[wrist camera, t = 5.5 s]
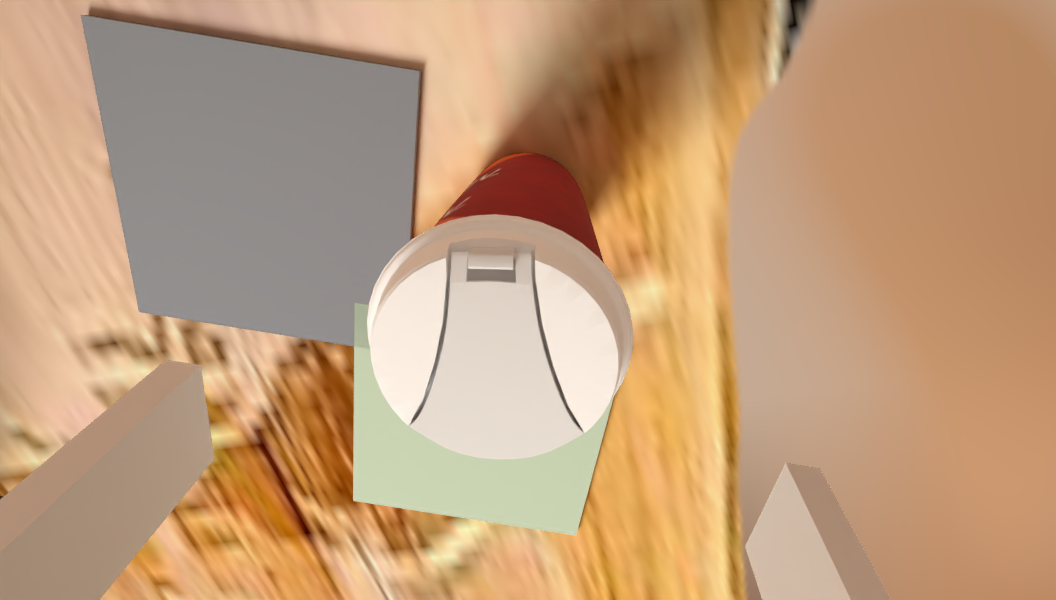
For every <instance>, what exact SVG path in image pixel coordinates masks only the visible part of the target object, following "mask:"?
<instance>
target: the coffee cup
mask: <svg viewBox="0 0 1056 600" xmlns="http://www.w3.org/2000/svg"><path fill="white" fill-rule="evenodd" d="M367 329H368V340H369V344H370V352H371V362H372V366H373V370H374V374H375V378H376V380H377V382H378V385H379V387H380V389H381V392H382V394H383V395H384V397H385V399H386V400H387V402H388V403H389V405H390V407H391V408H392V409H393V410H394V412H395V413H396V414H397V415H398V416H399V417H400V418H401V420H402V421H403V422H404V423H406V424H407V425H409V424H410V422H411V424H410V427H411V428H412V429H414V430H416V431H417V432H419V433H420V434H422V435H424V436H425V437H427V438H428V439H430V440H432V441H434V442H436V443H437V444H439V445H441V446H443V447H445V448H447V449H450V450H452V451H455V452H458V453H460V454H464V455H468V456H473V457H478V458H487V459H520V458H528V457H533V456H537V455H540V454H544V453H547V452H550V451H552V450H554V449H556V448H558V447H560V446H562V445H564V444H566V443H568V442H570V441H572V440H573V439H575V438H577V437H579V436H581V435H582V434H583V431H584V433H585V432H587V431H588V430H589V429H590V428H591V427H592V426H593V425H594V424H595V423H596V422H597V421H598V420H599V418H600V417H601V416H602V415H603V414H604V412H605V410H606V409H607V407H608V405H609V404H610V402H611V400H612V398H613V397H614V395H615V394H616V392H617V390H618V389H619V387H620V385H621V384H622V382H623V380H624V377H625V375H626V372H627V370H628V367H629V364H630V359H631V354H632V349H633V327H632V321H631V315H630V310H629V307H628V304H627V302H626V299H625V296H624V294H623V291H622V289H621V288H620V286H619V284H618V282H617V281H616V279H615V277H614V276H613V274H612V273H611V271H610V270H609V269H608V268H607V267H606V265H605V264H604V262H603V259H602V256H601V252H600V249H599V246H598V242H597V239H596V236H595V233H594V229H593V226H592V223H591V220H590V216H589V213H588V210H587V207H586V204H585V201H584V198H583V196H582V193H581V191H580V188H579V186H578V185H577V183H576V181H575V179H574V178H573V176H572V175H571V174H570V173H569V172H568V171H567V170H566V169H565V168H564V167H563V166H562V165H561V164H559V163H558V162H556V161H554V160H553V159H551V158H548V157H546V156H543V155H539V154H534V153H518V154H512V155H509V156H506V157H503V158H501V159H499V160H497V161H495V162H494V163H492V164H491V165H490V166H489V167H487V168H486V169H485V170H484V171H483V172H482V173H481V174H480V175H479V176H478V177H477V178H476V179H475V180H474V181H473V182H472V184H471V185H470V186H469V187H468V188H467V189H466V190H465V191H464V192H463V194H462V195H461V196H460V197H459V198H458V199H457V200H456V202H455V203H454V204H453V205H452V206H451V207H450V208H449V210H448V211H447V212H446V213H445V214H444V215H443V217H442V218H441V219H440V220H439V221H438V222H437V224H436V225H435V226H434V227H432V228H430V229H428V230H427V231H425V232H423V233H421V234H420V235H418V236H416V237H415V238H413V239H412V240H410V241H409V242H408V243H407V244H406V245H405V246H404V247H402V248H401V249H400V250H399V251H398V252H397V253H396V254H395V255H394V256H393V258H392V259H391V260H390V261H389V263H388V264H387V265H386V266H385V267H384V269H383V271H382V273H381V275H380V276H379V278H378V280H377V282H376V284H375V286H374V289H373V292H372V296H371V299H370V302H369V309H368V317H367Z"/></svg>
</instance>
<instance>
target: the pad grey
mask: <svg viewBox="0 0 1056 600" xmlns="http://www.w3.org/2000/svg"><path fill="white" fill-rule="evenodd" d="M81 18H82V23H83V28H84V33H85V38H86V43H87V49H88V54H89V59H90V64H91V69H92V74H93V79H94V84H95V89H96V94H97V99H98V105H99V110H100V115H101V120H102V125H103V130H104V135H105V140H106V145H107V150H108V156H109V161H110V166H111V171H112V176H113V181H114V186H115V191H116V196H117V201H118V207H119V212H120V217H121V222H122V227H123V232H124V237H125V242H126V247H127V252H128V258H129V263H130V268H131V273H132V278H133V283H134V288H135V293H136V298H137V303H138V309H139V312H142V313H148V314H155V315H161V316H167V317H174V318H180V319H186V320H192V321H199V322H205V323H211V324H217V325H224V326H230V327H236V328H242V329H249V330H255V331H261V332H267V333H274V334H280V335H286V336H292V337H299V338H305V339H311V340H317V341H324V342H330V343H336V344H342V345H349V346H354V343H355V342H356V341H355V342H354V336H355V335H354V331H355V330H354V329H355V328H354V314H356V312H355V306H356V304H357V303H358V304H359V305H360V304H366V305H369V302H370V299H371V296H372V292H373V289H374V286H375V284H376V282H377V280H378V278H379V276H380V275H381V273H382V271H383V269H384V267H385V266H386V265H387V264H388V263H389V261H390V260H391V259H392V258H393V256H394V255H395V254H396V253H397V252H398V251H399V250H400V249H401V248H402V247H404V246H405V245H406V244H407V243H408V242H409V241H410V240H412V224H413V207H414V189H415V171H416V153H417V136H418V118H419V100H420V83H421V71H420V70H414V69H408V68H402V67H396V66H390V65H384V64H378V63H372V62H366V61H360V60H354V59H348V58H342V57H336V56H330V55H324V54H318V53H312V52H306V51H300V50H294V49H288V48H282V47H276V46H270V45H264V44H258V43H252V42H246V41H240V40H234V39H228V38H222V37H216V36H210V35H204V34H198V33H192V32H186V31H180V30H174V29H168V28H162V27H156V26H150V25H144V24H138V23H132V22H126V21H120V20H114V19H108V18H102V17H96V16H89V15H81ZM355 303H356V304H355ZM359 305H358V306H359ZM368 307H369V306H368ZM365 308H366V307H365ZM356 310H357V309H356ZM361 310H363V307H362V309H361ZM364 311H365V309H364ZM363 313H364V312H363ZM357 315H358V314H357ZM355 316H356V315H355ZM356 318H357V317H356ZM356 318H355V319H356ZM364 319H365V318H364ZM356 320H357V319H356ZM358 321H359V319H358ZM361 321H362V320H361ZM362 322H365V321H362ZM360 324H361V323H360ZM355 325H356V324H355ZM357 325H358V324H357ZM362 326H363V325H362ZM356 327H357V326H356ZM364 327H365V326H364ZM358 328H359V327H358ZM361 328H362V327H361ZM363 329H364V328H363ZM366 330H367V329H366ZM360 331H361V330H360ZM355 332H356V331H355ZM357 332H358V331H357ZM365 332H366V331H365ZM360 333H361V332H360ZM362 333H363V332H362ZM364 334H365V333H364ZM359 335H360V334H359ZM359 335H358V336H359ZM361 335H362V334H361ZM364 336H365V335H364ZM366 337H367V336H366ZM355 338H356V337H355ZM363 338H364V337H363ZM356 339H358V337H357V338H356ZM361 339H362V337H361V338H360V339H359V340H361ZM367 339H368V338H367ZM357 341H358V340H357ZM365 341H366V340H365ZM367 341H368V340H367ZM366 346H367V345H366ZM360 347H361V346H360ZM363 348H364V347H363Z"/></svg>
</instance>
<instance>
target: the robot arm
mask: <svg viewBox="0 0 1056 600" xmlns="http://www.w3.org/2000/svg"><path fill="white" fill-rule="evenodd" d="M213 460H214V452H213V446H212V439H211V432H210V425H209V419H208V412H207V405H206V399H205V392H204V385H203V378H202V372H201V365H195V364H189V363H183V362H177V361H171V360H165V361H164V362H163V363H162V364H161V365H160V366H158V367H157V368H156V369H155V370H154V371H152V372H151V373H150V374H149V375H148V376H146V377H145V378H144V379H143V380H142V381H141V382H139V383H138V384H137V385H136V386H135V387H133V388H132V389H131V390H130V391H129V392H127V393H126V394H125V395H124V396H123V397H122V398H120V399H119V400H118V401H117V402H116V403H114V404H113V405H112V406H111V407H110V408H108V409H107V410H106V411H105V412H104V413H102V414H101V415H100V416H99V417H98V418H97V419H95V420H94V421H93V422H92V423H91V424H89V425H88V426H87V427H86V428H85V429H83V430H82V431H81V432H80V433H79V434H78V435H76V436H75V437H74V438H73V439H72V440H70V441H69V442H68V443H67V444H66V445H64V446H63V447H62V448H61V449H60V450H59V451H57V452H56V453H55V454H54V455H53V456H51V457H50V458H49V459H48V460H47V461H45V462H44V463H43V464H42V465H41V466H39V467H38V468H37V469H36V470H35V471H34V472H32V473H31V474H30V475H29V476H28V477H26V478H25V479H24V480H23V481H22V482H20V483H19V484H18V485H17V486H16V487H15V488H13V489H12V490H11V491H10V492H9V493H7V494H6V495H5V496H4V497H3V496H0V600H100V599H101V597H102V596H103V595H104V594H105V592H106V591H107V590H108V589H109V587H110V586H111V585H112V584H113V583H114V581H115V580H116V579H117V578H118V576H119V575H120V574H121V573H122V571H123V570H124V569H125V568H126V567H127V565H128V564H129V563H130V562H131V560H132V559H133V558H134V557H135V556H136V554H137V553H138V552H139V551H140V549H141V548H142V547H143V546H144V544H145V543H146V542H147V541H148V540H149V538H150V537H151V536H152V535H153V533H154V532H155V531H156V530H157V528H158V527H159V526H160V525H161V524H162V522H163V521H164V520H165V519H166V517H167V516H168V515H169V514H170V513H171V511H172V510H173V509H174V508H175V506H176V505H177V504H178V503H179V501H180V500H181V499H182V498H183V497H184V495H185V494H186V493H187V492H188V490H189V489H190V488H191V487H192V485H193V484H194V483H195V482H196V481H197V479H198V478H199V477H200V476H201V474H202V473H203V472H204V471H205V470H206V468H207V467H208V466H209V465H210V463H211V462H212V461H213ZM745 548H746V551H747V554H748V557H749V560H750V563H751V566H752V569H753V572H754V575H755V578H756V582H757V585H758V588H759V591H760V594H761V597H762V600H891V599H890V596H889V595H888V593H887V591H886V589H885V588H884V585H883V584H882V582H881V580H880V578H879V576H878V574H877V573H876V571H875V569H874V567H873V565H872V563H871V562H870V560H869V558H868V556H867V554H866V553H865V551H864V549H863V547H862V545H861V543H860V541H859V540H858V538H857V536H856V534H855V532H854V531H853V529H852V527H851V525H850V523H849V521H848V519H847V518H846V516H845V514H844V512H843V510H842V508H841V507H840V505H839V503H838V501H837V499H836V497H835V496H834V494H833V492H832V490H831V488H830V486H829V484H828V483H827V481H826V479H825V477H824V475H823V473H822V472H821V470H820V468H814V467H808V466H802V465H796V464H790V463H785V465H784V467H783V469H782V472H781V473H780V476H779V478H778V480H777V482H776V484H775V486H774V488H773V490H772V492H771V494H770V496H769V498H768V501H767V502H766V504H765V507H764V509H763V511H762V513H761V515H760V517H759V519H758V521H757V523H756V525H755V527H754V529H753V531H752V533H751V535H750V538H749V539H748V542H747V544H746V546H745Z"/></svg>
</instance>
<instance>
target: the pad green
mask: <svg viewBox="0 0 1056 600" xmlns="http://www.w3.org/2000/svg"><path fill="white" fill-rule="evenodd" d="M355 304H356V303H355ZM358 305H359V304H358V303H357V304H356V306H355V312H356V314H354V328H355V329H354V330H355V331H356V332H355V331H354V335H355V336H354V342H355V341H356V342H355V343H354V465H353V501H358V502H365V503H371V504H378V505H384V506H390V507H397V508H403V509H410V510H416V511H422V512H429V513H435V514H442V515H448V516H454V517H461V518H467V519H473V520H480V521H486V522H493V523H499V524H505V525H512V526H518V527H525V528H531V529H537V530H544V531H550V532H557V533H563V534H569V535H576V534H577V530H578V527H579V523H580V519H581V516H582V512H583V508H584V505H585V501H586V497H587V494H588V490H589V486H590V483H591V479H592V475H593V472H594V468H595V464H596V461H597V457H598V453H599V450H600V446H601V442H602V439H603V435H604V431H605V428H606V424H607V420H608V417H609V413H610V409H611V406H612V402H613V398H614V397H613V398H612V400H611V402H610V404H609V405H608V407H607V409H606V410H605V412H604V414H603V415H602V416H601V417H600V418H599V420H598V421H597V422H596V423H595V424H594V425H593V426H592V427H591V428H590V429H589V430H588V431H587V432H585V433H584V431H583V434H582V435H581V436H579V437H577V438H575V439H573V440H572V441H570V442H568V443H566V444H564V445H562V446H560V447H558V448H556V449H554V450H552V451H550V452H547V453H544V454H540V455H537V456H533V457H528V458H520V459H487V458H478V457H473V456H468V455H464V454H460V453H458V452H455V451H452V450H450V449H447V448H445V447H443V446H441V445H439V444H437V443H436V442H434V441H432V440H430V439H428V438H427V437H425V436H424V435H422V434H420V433H419V432H417V431H416V430H414V429H412V428H411V427H410V424H411V422H410V424H409V425H407V424H406V423H404V422H403V421H402V420H401V418H400V417H399V416H398V415H397V414H396V413H395V412H394V410H393V409H392V408H391V407H390V405H389V403H388V402H387V400H386V399H385V397H384V395H383V394H382V392H381V389H380V387H379V385H378V382H377V380H376V378H375V374H374V370H373V366H372V362H371V352H370V344H369V340H368V339H367V338H368V329H367V317H368V309H369V307H368V306H369V305H366V304H360V305H359V306H358ZM362 307H363V310H361V309H362ZM365 307H366V308H365ZM356 309H357V310H356ZM364 309H365V311H364ZM363 312H364V313H363ZM357 314H358V315H357ZM355 315H356V316H355ZM356 317H357V318H356ZM355 318H356V319H357V320H356V319H355ZM364 318H365V319H364ZM358 319H359V321H358ZM361 320H362V321H365V322H362V321H361ZM360 323H361V324H360ZM355 324H356V325H355ZM357 324H358V325H357ZM362 325H363V326H362ZM356 326H357V327H356ZM364 326H365V327H364ZM358 327H359V328H358ZM361 327H362V328H361ZM363 328H364V329H363ZM366 329H367V330H366ZM360 330H361V331H360ZM357 331H358V332H357ZM365 331H366V332H365ZM360 332H361V333H360ZM362 332H363V333H362ZM364 333H365V334H364ZM359 334H360V335H359ZM361 334H362V335H361ZM358 335H359V336H358ZM364 335H365V336H364ZM366 336H367V337H366ZM355 337H356V338H357V337H358V339H356V338H355ZM361 337H362V339H361V340H359V339H360V338H361ZM363 337H364V338H363ZM357 340H358V341H357ZM365 340H366V341H365ZM367 340H368V341H367ZM366 345H367V346H366ZM360 346H361V347H360ZM363 347H364V348H363Z"/></svg>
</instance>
